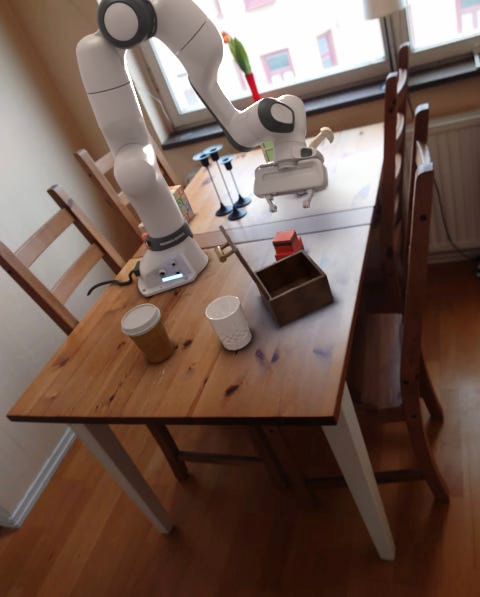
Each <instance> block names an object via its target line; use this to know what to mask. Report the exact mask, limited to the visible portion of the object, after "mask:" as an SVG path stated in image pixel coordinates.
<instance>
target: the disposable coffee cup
mask: <svg viewBox="0 0 480 597" xmlns="http://www.w3.org/2000/svg"><path fill="white" fill-rule="evenodd" d="M120 325H121V332H122V333H123V334H125V335H126V336H128V337H129V338H130V340H131V341H132V342H133V343H134V345H136V346H137V348H138V349H139V350H140V351H141V352H142V353H143V354H144V355H145V357H146V358H147V359H148V360H149V361H150V362H152V363H159V362H162V361H165V360H167V359H168V358H169V356H171V355H172V353H173V350H174V347H173V344H172V342H171V338H170V336H169V334H168V332H167V329H166V326H165V323H164V321H163V319H162V315H161V310H160V308H159V307H157V306H156V305H154V304H153V303H147V302H146V303H142V304H138V305H136V306H134V307H133V308H130V310H128V311H127V312H126V313H125V314H124V316H123V317H122V318H121V321H120Z"/></svg>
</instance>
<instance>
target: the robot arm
mask: <svg viewBox="0 0 480 597" xmlns="http://www.w3.org/2000/svg"><path fill="white" fill-rule="evenodd" d="M96 24H97V27H98V28H97V31H95V32H93V33H90V34H87V35H85V36H83V37H82V38H81V39H80V40H79V41H78V42H77V45H76V47H75V56H76V61H77V66H78V70H79V74H80V78H81V81H82V84H83V87H84V90H85V93H86V95H87V98H88V101H89V104H90V107H91V109H92V112H93V114H94V117H95V120H96V123H97V125H98V128H99V129H100V131H101V133H102V136H103V138H104V140H105V142H106V144H107V147H108V148H109V150H110V153H111V155H112V158H113V177H114V179H115V181H116V183H117V185H118V186H119V188H120V189H121V191H122V192H123V194H124V196H125V197H126V199H127V200H128V202H129V204H130V205H131V207H132V208H133V209H134V211H135V212H136V214H137V215H138V218H139V219H140V221H141V223H143V225H144V227H145V229H146V231H147V233H148V234H146V233H143V234H141V239H142V241H143V243H144V245H145V247H146V248H147V249H146V251H145V253H144V254H143V256H142V257H141V259H140V260H138V261H137V262H136V263H135V265H134V267H133V269H131V270H130V271H129V273H128V274H127V275H128V280H126V281H119V280H118V279H110V280H104V281H101V282H98V283H96V284H94V285H92V286H91V287H90V289H89V290H88V291H87V293H86V297H89V296H90V295H91V294H92V292H93V291H94V290H96V289H98V288H99V287H102V286H106V285H110V284H116V285H118V286H128V285H130V284H131V283H133V274H134V277H135V278H138V280H137V287H138V290H139V293H140V294H141V295H142V296H143V297H146V298H149V297H151V296H154V295H158V294H160V293H164V292H166V291H170V290H172V289H175V288H178V287H181V286H184V285H186V284H189V283H192V282H194V281H195V280H196V278H197V277H198V275H200V273H201V272H202V271H203V270H204V269H205V268H206V267H207V265H208V263H209V257H208V255H207V254H206V253H205V252H204V251H203V249H202V248H201V246H200V245H199V244H198V242H197V241H196V238H195V237H194V233H193V230H192V227H191V226H190V224H189V222H187V220H186V219H185V218H184V217H183V215H182V213H181V211H180V209H179V207H178V204H177V202H176V200H175V198H174V196H173V194H172V192H171V191H170V189H169V187H170V186H169V185H168V183H167V181H166V179H165V177H164V175H163V173H162V171H161V169H160V166H159V164H158V160H157V159H158V158H157V154H156V151H155V149H154V148H155V147H154V145H153V141H152V139H151V136H150V133H149V130H148V127H147V124H146V121H145V118H144V116H143V112H142V109H141V106H140V103H139V100H138V97H137V93H136V91H135V87H134V84H133V80H132V77H131V75H130V72H129V68H128V65H127V59H126V57H127V56H126V54H127V51H128V50H131V49H135V48H137V47H139V46H140V45H142V44H144V43H145V42H147V41H149V40H150V39H153V38H156V39H158V40H159V41H160V42H161V43H162V44H164V45H165V46H166V47H167V48H168V49H169V51H171V52H172V54H173V55H175V57H176V58H177V59H178V61H179V62H180V63H181V65H182V66H183V68H184V70H185V71H186V74H187V79H188V82H189V84H190V87H191V88H192V90H193V92H194V93H195V94H196V96H197V97H198V99H199V100H200V101H201V102H202V104H203V105H204V107H205V108H206V110H207V111H208V113H210V115H211V116H212V117H213V119H214V120H215V121H216V123H217V124H218V125H219V127H220V128H221V130H222V132H223V134H224V137H225V138H226V140H227V142H228V143H229V145H230V146H231V147H232V148H233V149H234V150H236V151H237V152H241V153H249V152H251V151H253V150H255V149H256V148H258V147H259V146H260V144H262V143H264V142H266V141H268V140H270V141H273V143H274V147H273V162H270V163H266V162H265V163H261V164H259V165H258V166H257V167H256V168H255V169H254V181H253V195H254V196H255V197H257V198H259V199H261V200H262V199H265V201H266V203H267V204H268V206H269V212H270V213H271V214H273V213H278V205H276V204H274V202H273V201H274V199H275V198H276V197H282V196H291V195H296V194H297V193H303V192H306V194H307V196H306V199H304V200H302V208H303V209H310V208H311V202H312V201H313V199H314V197H315V196H316V195H315V192H316V191H323V190H324V191H325V190H326V189H327V188H328V186H329V174H328V168H327V166H326V165H325V157H324V155H323V154H322V152H320V151H319V149H318V148H317V149H315V148H309V146H308V145H307V142H306V136H307V130H308V128H307V127H308V126H307V124H308V123H307V112H306V107H305V104H304V101H303V100H302V99H301V98H300V97H298V96H296V95H293V94H284V95H281V96H279V97H278V98H275V97H272V96H266V97H263V98H261V99H259V100H258V101H255V102H254V103H253V104H251V105H250V106H248V107H247V108H245V109H244V110H238V109H237V108H236V107H235V106H234V105H233V103H232V102H231V100H230V99H229V98H228V96H227V94H226V93H225V92H224V90H223V89H222V87H221V85H220V83H219V80H218V75H219V71H220V68H221V65H222V63H223V61H224V55H225V41H224V37H223V35H222V33H221V32H220V30H219V29H218V27H217V26H216V24H214V23H213V21H212V20H211V19H210V18H209V17H208V15H207V14H206V13H205V12H204V11H203V10H202V9H201V8H200V7H199V5H197V3H195V1H194V0H101V1H100V2H99V4H98V6H97V10H96ZM307 146H308V147H307ZM297 195H298V194H297Z"/></svg>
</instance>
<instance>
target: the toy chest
mask: <svg viewBox="0 0 480 597" xmlns="http://www.w3.org/2000/svg"><path fill="white" fill-rule="evenodd" d="M253 272H254V274H255V275H256V277H257V278H258V280H259V281H260V283H261V285H262V286H263V288H264V289H265V291H266V292H267V294H268V296H269V297H270V299H269V300H268V301H267V300H266V298H265V297H264V295H263V294H262V292H261V291H260V289H259V288H258V286H257V285H256V288H257V290H258V292H259V295H260V298H261V299H262V301H263V303H264V305H265V306H266V307H267V309H268V311H269V312H270V314H271V316H272V318H273V319H274V321H275V322H276V324H277V326H278V327H279V328H282V327H284V326H286V325H289V324H291V323H292V322H295V321H298V320H300V319H301V318H304V317H305V316H308V315H310V314H313V313H315V312H317V311H318V310H321V309H322V308H325V307H327V306H329V305H331V304H334V303H335V299H334V296H333V292H332V289H331V285H330V282H329V279H328V275H327V273H325V272H324V270H323V269H322V268H321V267H320V266H319V265H318V264H317V263H316V261H314V259H313V258H312V257H311V256H310V255H309V254H308V253H307V251H306V250H305V251H304V250H303V249H302V250H300V251H298V252H296V253H294V254H291V255H289V256H287V257H285V258H283V259H281V260H278V261H276V260H275V261H274V262H272V263H269V264H267V265H266V266H263V267H261V268H259V269H256V270H255V271H253Z"/></svg>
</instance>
